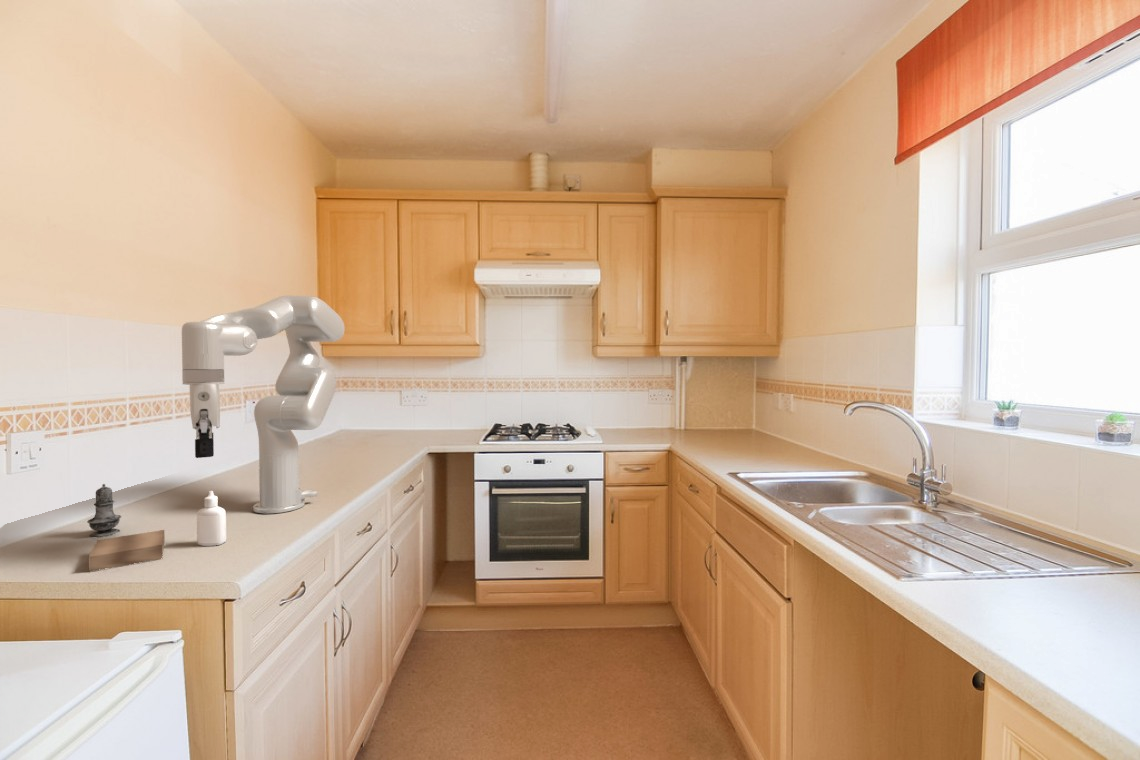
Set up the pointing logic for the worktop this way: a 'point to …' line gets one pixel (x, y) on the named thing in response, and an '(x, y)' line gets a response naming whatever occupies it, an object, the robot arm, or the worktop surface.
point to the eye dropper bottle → (211, 522)
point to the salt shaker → (104, 514)
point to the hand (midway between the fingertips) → (204, 453)
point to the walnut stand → (127, 550)
